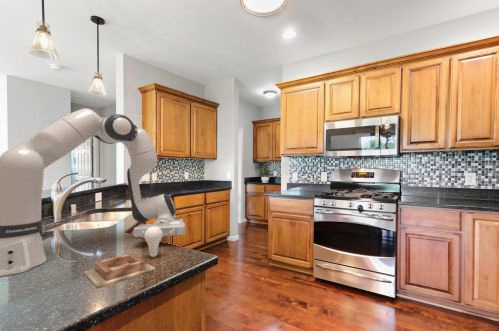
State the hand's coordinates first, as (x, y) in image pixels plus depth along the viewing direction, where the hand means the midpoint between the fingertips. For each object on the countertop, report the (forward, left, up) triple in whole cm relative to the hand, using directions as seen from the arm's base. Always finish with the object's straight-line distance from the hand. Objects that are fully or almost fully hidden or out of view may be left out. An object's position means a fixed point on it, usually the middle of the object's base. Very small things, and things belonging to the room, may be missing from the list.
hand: (156, 234), depth 96 cm
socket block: (-17, -10, -6) cm, 21 cm away
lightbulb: (-4, -5, -7) cm, 9 cm away
